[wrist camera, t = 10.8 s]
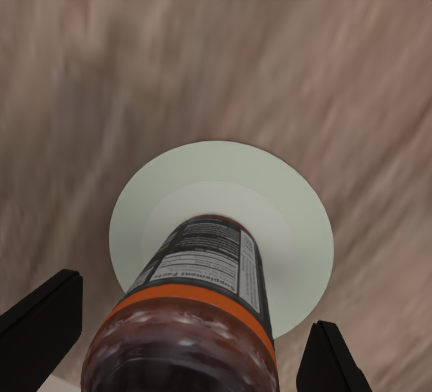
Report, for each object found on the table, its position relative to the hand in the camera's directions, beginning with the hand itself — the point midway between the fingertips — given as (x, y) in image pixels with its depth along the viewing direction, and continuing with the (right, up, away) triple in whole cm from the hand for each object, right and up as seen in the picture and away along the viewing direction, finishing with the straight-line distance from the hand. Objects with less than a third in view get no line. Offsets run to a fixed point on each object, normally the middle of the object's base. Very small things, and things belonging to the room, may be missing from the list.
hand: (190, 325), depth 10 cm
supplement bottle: (+1, +1, +6) cm, 6 cm away
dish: (+1, +2, +7) cm, 7 cm away
